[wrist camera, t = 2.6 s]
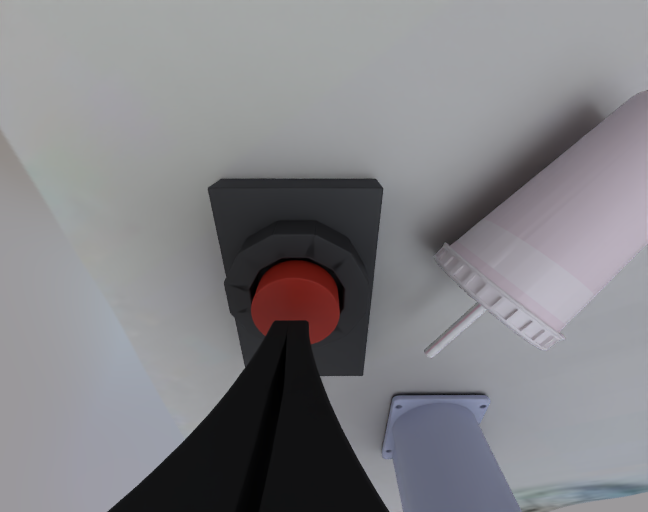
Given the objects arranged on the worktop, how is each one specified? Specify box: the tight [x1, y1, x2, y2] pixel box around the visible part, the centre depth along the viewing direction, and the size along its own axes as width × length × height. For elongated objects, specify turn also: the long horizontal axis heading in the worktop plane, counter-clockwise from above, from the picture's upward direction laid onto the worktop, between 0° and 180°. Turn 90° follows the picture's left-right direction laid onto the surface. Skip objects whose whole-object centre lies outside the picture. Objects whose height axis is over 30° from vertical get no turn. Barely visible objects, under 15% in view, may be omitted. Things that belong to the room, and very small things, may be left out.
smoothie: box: [424, 90, 648, 358], centre depth 12 cm, size 6×6×14 cm
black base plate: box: [208, 179, 383, 376], centre depth 15 cm, size 13×8×4 cm, turn 0°
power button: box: [251, 260, 340, 344], centre depth 13 cm, size 4×4×2 cm
